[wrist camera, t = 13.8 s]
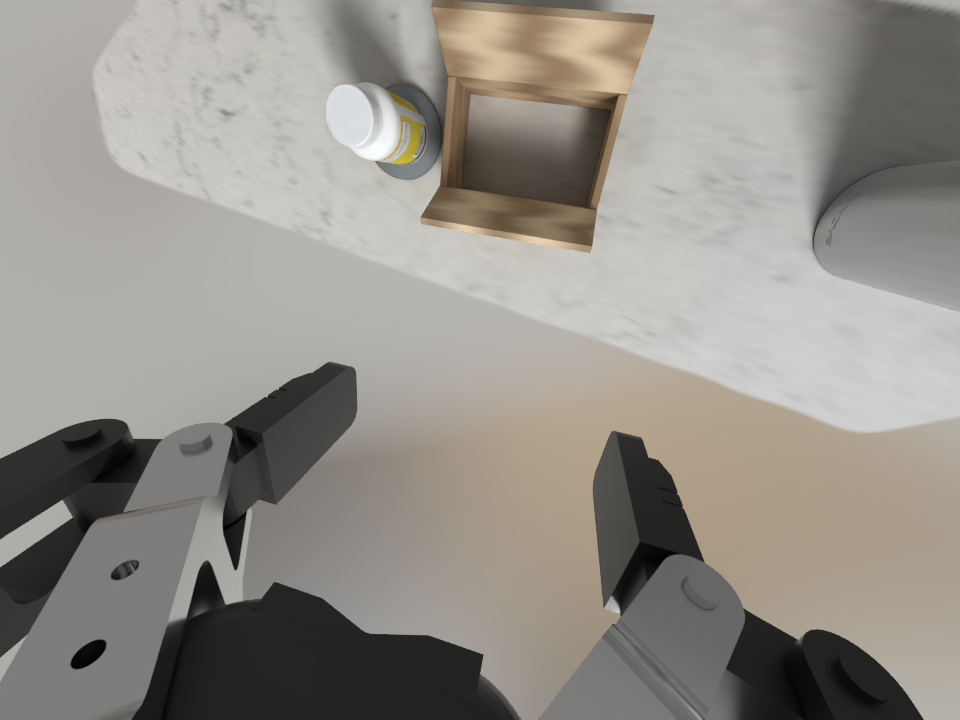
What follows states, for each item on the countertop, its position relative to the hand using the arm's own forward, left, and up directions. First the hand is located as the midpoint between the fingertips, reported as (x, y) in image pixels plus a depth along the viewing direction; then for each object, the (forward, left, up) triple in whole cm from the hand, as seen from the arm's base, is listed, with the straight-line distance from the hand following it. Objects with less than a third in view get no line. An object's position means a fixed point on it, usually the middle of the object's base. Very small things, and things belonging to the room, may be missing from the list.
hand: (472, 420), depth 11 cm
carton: (+3, -10, -30) cm, 32 cm away
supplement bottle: (+16, -10, -30) cm, 35 cm away
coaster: (+16, -10, -30) cm, 36 cm away
